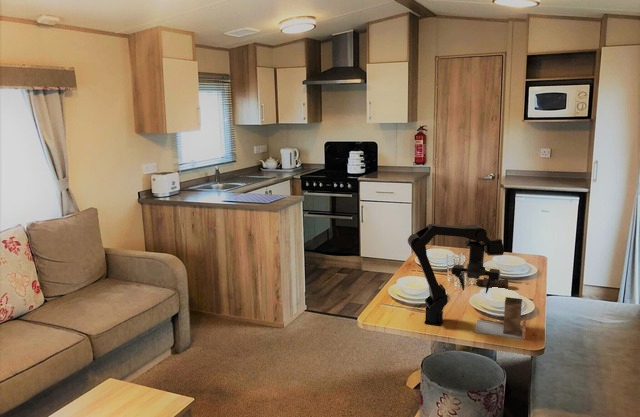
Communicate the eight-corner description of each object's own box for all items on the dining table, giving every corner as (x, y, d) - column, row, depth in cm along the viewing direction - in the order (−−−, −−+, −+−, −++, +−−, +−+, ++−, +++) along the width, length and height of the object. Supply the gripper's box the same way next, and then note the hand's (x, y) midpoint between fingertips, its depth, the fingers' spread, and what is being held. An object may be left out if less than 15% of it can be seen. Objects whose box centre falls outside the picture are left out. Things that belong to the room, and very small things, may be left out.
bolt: (475, 288, 256) (507, 290, 252) (475, 287, 252) (508, 288, 247) (476, 277, 258) (507, 278, 254) (476, 275, 253) (508, 276, 249)
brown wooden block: (503, 333, 202) (504, 302, 199) (504, 327, 208) (505, 297, 205) (519, 335, 200) (521, 304, 197) (520, 329, 205) (522, 299, 203)
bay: (473, 333, 204) (474, 323, 203) (477, 321, 215) (477, 312, 214) (525, 340, 196) (525, 331, 196) (525, 328, 207) (526, 318, 206)
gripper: (449, 258, 206) (448, 295, 209) (498, 264, 198) (496, 301, 202) (454, 251, 216) (453, 286, 219) (501, 256, 208) (499, 292, 211)
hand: (474, 291), depth 213 cm, fingers open, 9 cm apart
